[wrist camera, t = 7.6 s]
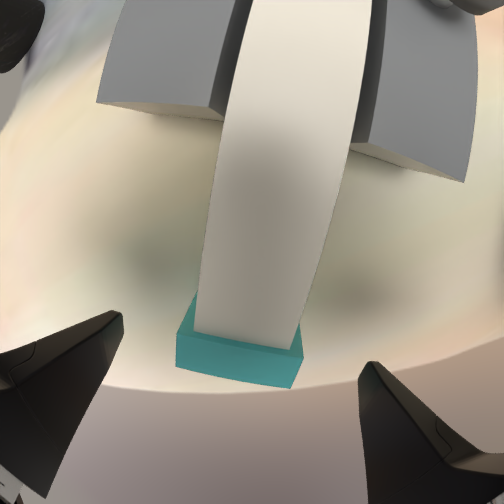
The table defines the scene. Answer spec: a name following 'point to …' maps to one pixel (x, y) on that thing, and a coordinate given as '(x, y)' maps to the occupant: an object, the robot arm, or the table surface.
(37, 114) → the table surface
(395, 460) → the robot arm
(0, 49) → the travel mug
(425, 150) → the housing
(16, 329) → the table surface
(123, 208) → the table surface
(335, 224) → the table surface
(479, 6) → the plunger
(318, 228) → the bar
